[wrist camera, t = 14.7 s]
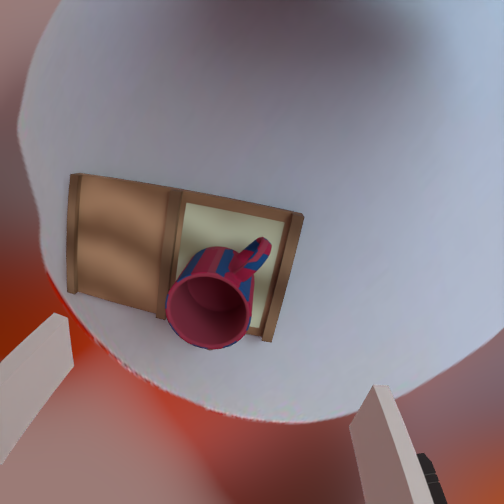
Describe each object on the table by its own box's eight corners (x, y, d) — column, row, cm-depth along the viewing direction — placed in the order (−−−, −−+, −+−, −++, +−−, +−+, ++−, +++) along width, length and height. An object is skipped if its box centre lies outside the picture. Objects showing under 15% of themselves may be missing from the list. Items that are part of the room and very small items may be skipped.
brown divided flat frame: (79, 172, 28) (63, 175, 25) (301, 213, 29) (306, 219, 26) (75, 297, 33) (62, 308, 30) (267, 345, 33) (267, 361, 30)
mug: (171, 275, 30) (148, 306, 23) (249, 207, 28) (244, 223, 21) (217, 322, 31) (206, 362, 25) (296, 263, 29) (305, 293, 23)
